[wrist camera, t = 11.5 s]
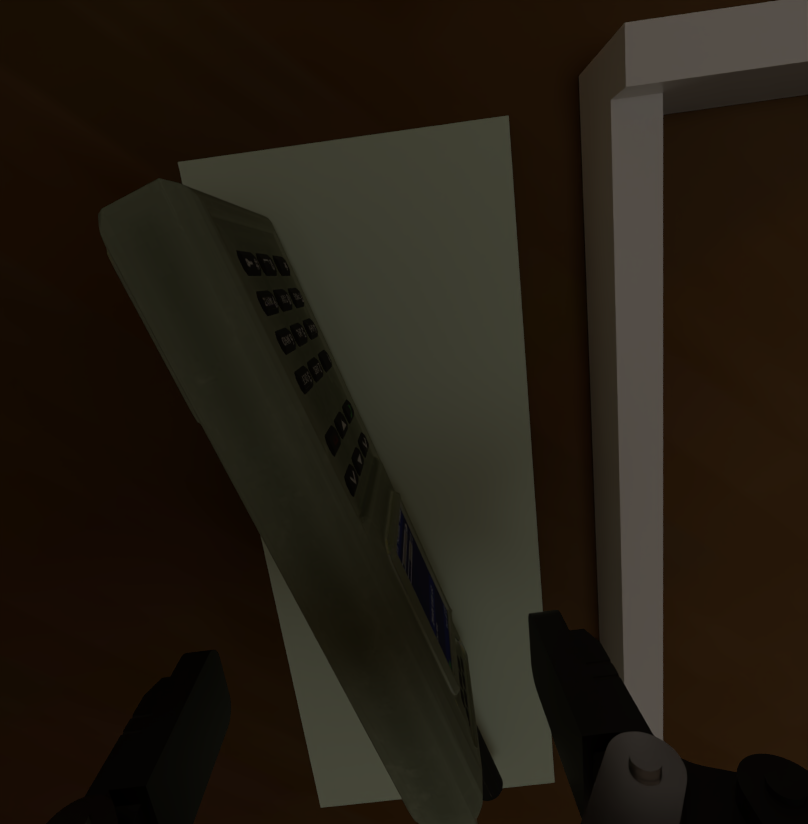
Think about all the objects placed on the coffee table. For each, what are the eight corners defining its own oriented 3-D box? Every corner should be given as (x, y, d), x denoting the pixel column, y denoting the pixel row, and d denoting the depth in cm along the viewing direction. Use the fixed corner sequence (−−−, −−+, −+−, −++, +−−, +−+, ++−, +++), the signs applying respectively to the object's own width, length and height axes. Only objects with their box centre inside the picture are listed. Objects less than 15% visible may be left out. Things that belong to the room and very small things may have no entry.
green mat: (322, 797, 24) (320, 807, 24) (184, 165, 17) (177, 162, 17) (551, 772, 24) (554, 782, 23) (505, 120, 17) (508, 115, 16)
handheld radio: (279, 203, 17) (522, 749, 23) (194, 243, 17) (454, 768, 23) (193, 160, 11) (562, 936, 16) (62, 224, 11) (467, 958, 17)
